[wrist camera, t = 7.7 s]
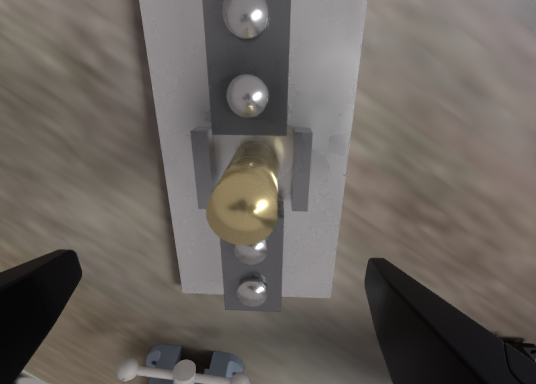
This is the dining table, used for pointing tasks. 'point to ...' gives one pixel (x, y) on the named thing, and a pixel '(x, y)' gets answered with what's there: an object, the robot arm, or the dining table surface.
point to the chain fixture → (256, 133)
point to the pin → (246, 196)
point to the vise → (183, 368)
